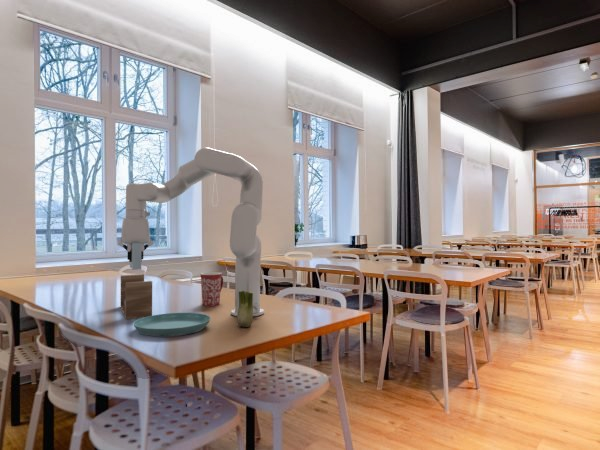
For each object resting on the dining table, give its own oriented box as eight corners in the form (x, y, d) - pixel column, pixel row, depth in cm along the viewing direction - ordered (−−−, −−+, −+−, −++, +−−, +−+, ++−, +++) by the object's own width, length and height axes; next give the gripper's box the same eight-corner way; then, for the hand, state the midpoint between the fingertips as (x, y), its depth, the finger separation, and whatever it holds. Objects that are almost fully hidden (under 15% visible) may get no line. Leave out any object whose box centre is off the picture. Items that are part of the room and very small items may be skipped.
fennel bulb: (254, 327, 137) (255, 291, 137) (241, 329, 134) (241, 292, 134) (248, 324, 142) (248, 289, 142) (234, 325, 139) (234, 290, 140)
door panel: (141, 269, 158) (141, 243, 158) (132, 269, 157) (133, 243, 157) (137, 266, 169) (137, 242, 169) (129, 266, 167) (130, 242, 167)
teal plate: (200, 318, 151) (200, 309, 151) (219, 333, 130) (219, 323, 130) (129, 325, 140) (130, 315, 140) (137, 343, 119) (137, 332, 119)
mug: (212, 307, 171) (213, 274, 171) (195, 305, 175) (195, 273, 175) (230, 302, 183) (230, 272, 183) (214, 300, 187) (214, 271, 187)
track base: (152, 316, 153) (152, 281, 153) (125, 319, 149) (126, 283, 149) (143, 304, 176) (143, 274, 176) (120, 306, 172) (120, 275, 172)
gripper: (156, 215, 170) (155, 260, 170) (112, 214, 162) (112, 261, 162) (159, 215, 163) (158, 261, 163) (113, 214, 156) (113, 262, 155)
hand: (135, 261), depth 163 cm, fingers closed on door panel, 3 cm apart
